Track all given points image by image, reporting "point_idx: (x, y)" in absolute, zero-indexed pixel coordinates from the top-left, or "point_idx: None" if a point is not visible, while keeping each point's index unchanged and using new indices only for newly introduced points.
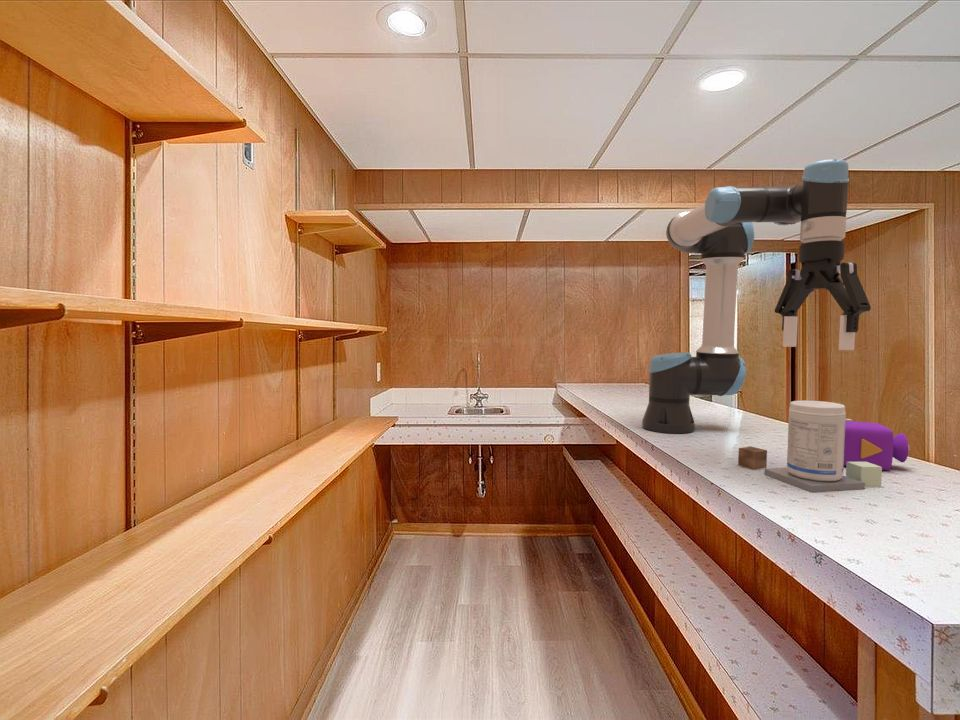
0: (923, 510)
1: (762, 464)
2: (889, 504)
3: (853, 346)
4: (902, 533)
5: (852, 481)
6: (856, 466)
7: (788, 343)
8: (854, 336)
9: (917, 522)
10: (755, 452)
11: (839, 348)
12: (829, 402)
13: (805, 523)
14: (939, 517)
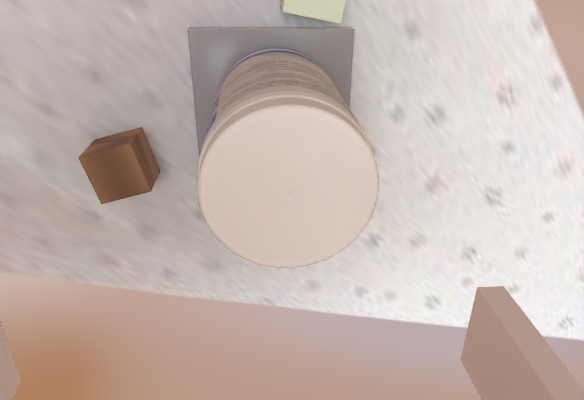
0: (496, 39)
1: (146, 146)
2: (447, 76)
3: (513, 307)
4: (545, 193)
5: (338, 53)
6: (321, 19)
7: (1, 382)
8: (554, 356)
9: (529, 121)
10: (149, 188)
11: (470, 365)
12: (270, 120)
13: (460, 294)
14: (533, 49)
